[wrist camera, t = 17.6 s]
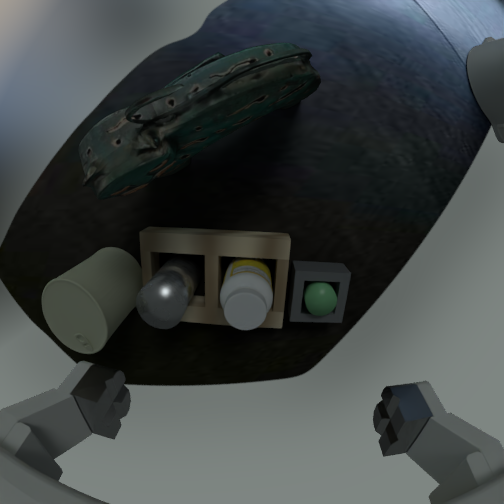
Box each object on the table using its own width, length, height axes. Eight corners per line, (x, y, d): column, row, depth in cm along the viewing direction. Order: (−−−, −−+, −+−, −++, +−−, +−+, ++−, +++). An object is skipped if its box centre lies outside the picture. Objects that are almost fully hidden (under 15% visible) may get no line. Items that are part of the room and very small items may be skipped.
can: (108, 316, 38) (68, 362, 27) (79, 260, 36) (27, 294, 25) (157, 298, 37) (121, 348, 26) (126, 236, 35) (74, 267, 23)
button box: (343, 263, 35) (350, 273, 32) (335, 309, 37) (341, 322, 33) (292, 260, 35) (295, 270, 32) (287, 307, 37) (289, 321, 34)
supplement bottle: (249, 302, 37) (245, 346, 27) (217, 274, 36) (203, 311, 26) (280, 274, 36) (286, 312, 26) (248, 243, 35) (243, 273, 25)
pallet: (288, 233, 34) (290, 239, 31) (280, 316, 37) (281, 328, 34) (148, 226, 34) (139, 232, 31) (154, 306, 37) (146, 317, 35)
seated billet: (202, 253, 35) (181, 286, 26) (202, 290, 36) (184, 331, 27) (165, 251, 35) (133, 282, 26) (167, 287, 37) (138, 325, 27)
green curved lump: (164, 190, 33) (60, 224, 14) (140, 145, 32) (23, 136, 12) (314, 110, 30) (380, 45, 11) (286, 64, 28) (314, -38, 9)
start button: (333, 277, 34) (339, 287, 31) (329, 304, 35) (334, 316, 32) (304, 276, 34) (308, 286, 31) (300, 303, 35) (304, 315, 32)
